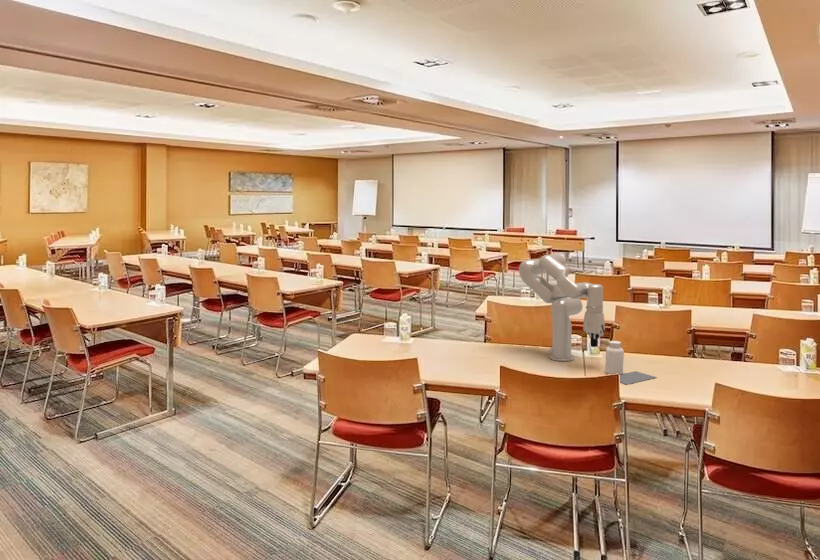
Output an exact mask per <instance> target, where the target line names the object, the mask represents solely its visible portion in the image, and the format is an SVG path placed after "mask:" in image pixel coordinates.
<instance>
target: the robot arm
mask: <svg viewBox="0 0 820 560" xmlns="http://www.w3.org/2000/svg"><path fill="white" fill-rule="evenodd" d="M518 272H519V273H518V274H519V276H520V278H521V280H522V282H523V283H524V284H525V285H526V286H527V287H529V288H530V289H531V290H532V291H533V293H535V294H536V295H537V297H539V298H540V299H541V300H542V301H543V302H545V304H551V305H550V312H551V318H552V347H550V348H549V349H548V352H550V354H549V357H548V358H549V359H550V360H553V361H556V362H570V361H573V360H575V356H574V355H572V335H573V334H572V331H573V330H572V328H573V327H572V321H571V319H570V316H574V315H578V314H580V313H581V312H582V311H583V306H584V305H583V303H582V300H581V299H582V298H586V306H585V309H586V310H585V312H584V317H583V324H582V325H583V327H582V330H583V331H584V332H585V333H586V334H587V335H588V336H589V339H590V348H591V347H592V348H596V347H598V345H599V341H598V339H600V337H604V335H605V334H604V333H605V331H606V329H605V328H606V327H605V326H606V323H605V314H604V307H603V306H604V286H603V285H602V284H599V283H591V282H587V281H585V282H584V281H583V282H578V283H577V282H576V283H575V282H572V281H571V280H570V279H569V278H568V276H569V274H570V269H569V268H568V267H567V266H566V261H565V258H564V257H563V255H561V254H559V253H550V254H545V255H543V256H541V257H540V258H530V259H525V260H523V261H522V262H520V264H519V268H518ZM542 274H548V275H549V276H550V277H551V278H553V279H554V280H555V281H556V284H551V283H549V282H548V281H547V280H546V279H545V278H543V277H542V276H540V275H542Z"/></svg>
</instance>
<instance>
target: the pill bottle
mask: <svg viewBox="0 0 820 560" xmlns="http://www.w3.org/2000/svg"><path fill="white" fill-rule="evenodd" d="M608 345H609V346H607V347H606V349H605V365H604V367H605V368H604V369H605V370H604V372H605V373H606V374H608V375H612V374H616V373H618V374H619V375H620V374H624V373H623V372H624V355H625V354H624V353H625V351H624V349H623V348H622V342H621V341H619V340H610V341H608Z"/></svg>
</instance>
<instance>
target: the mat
mask: <svg viewBox="0 0 820 560" xmlns="http://www.w3.org/2000/svg"><path fill="white" fill-rule="evenodd" d="M657 378H658V377H657V376H654V375H650V374H647V373H644V372H640V371H630V372H629V371H628V372H625V373H622V374H620V383H619V384H623V385H625V386H628V385H633V384H637V383H640V382H645V381H649V380H653V379H654V380H655V379H657Z"/></svg>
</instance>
